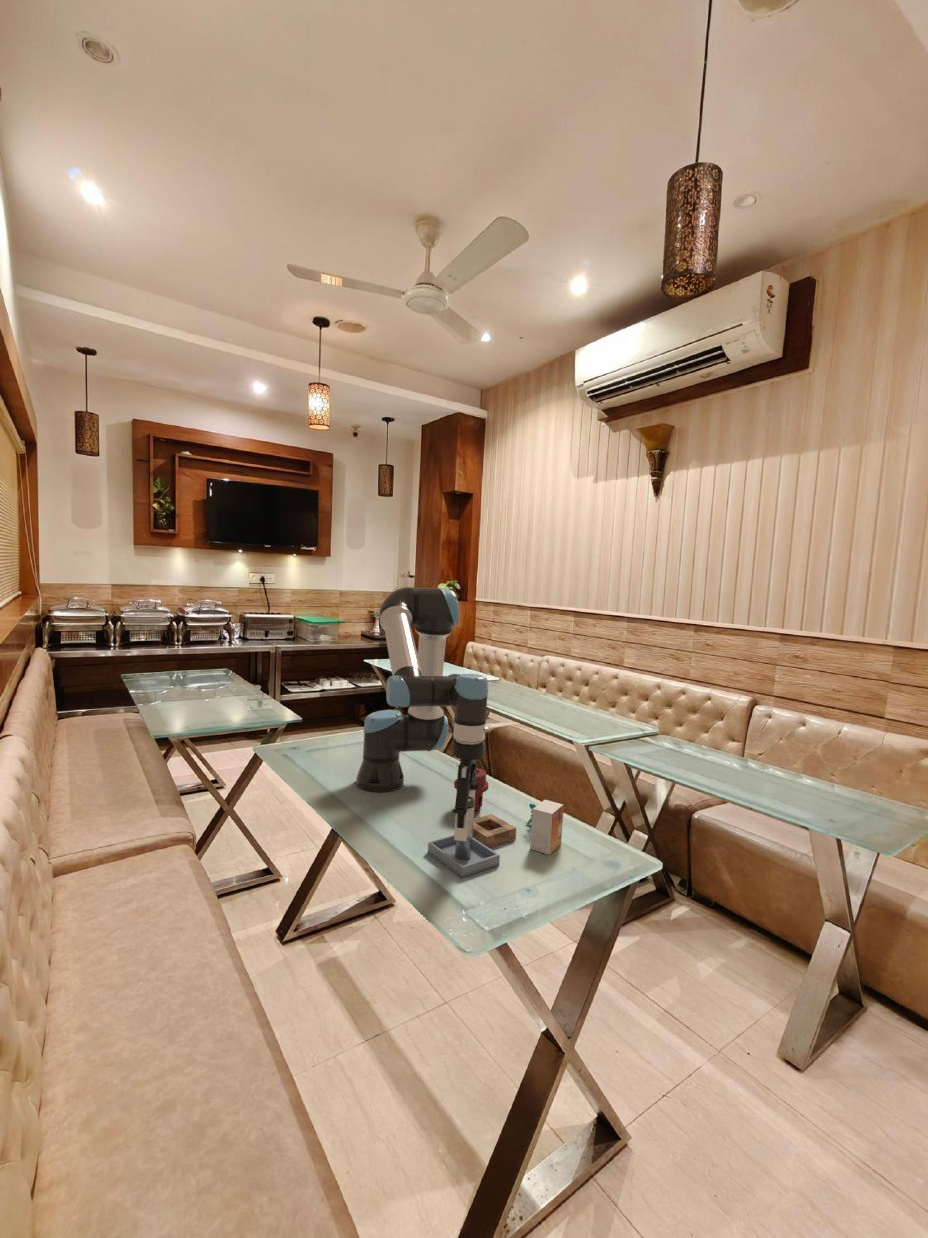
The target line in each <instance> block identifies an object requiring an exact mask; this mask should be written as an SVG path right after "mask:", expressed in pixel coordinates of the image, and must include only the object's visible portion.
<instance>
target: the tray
mask: <svg viewBox="0 0 928 1238" xmlns="http://www.w3.org/2000/svg"><path fill="white" fill-rule="evenodd" d="M455 843H456V840H454V834H452V835H448V836H445V837H441V838H437V839H435V840H432V841H428V843H427V844H428V845H427V853H428V854H430V856H432V857H433V858H435V859H436V860H437V861H438V862H440V863H441V864H443V865H444V866H445V867H447V869H449V870H450V871H452V872H453V873H454V874H456V875H457V876H458V877H459V878H461V879H464V878H467V877H470V876H473V875H475V874H479V873H481V872H484V871H487V870H490V869H493V868H496V867H498V866H500V861H501V860H500V859H501V857H500V854H499V853H498V852H496V851H495V850H493V849H491V847H490V848H488V847H487V846H485V845H484V844H482V843H481V842H479V841H478V840H476V839H474V838H473V837H472V856H471V858H470V859H469V860H459V859H457V858H456V857H455Z"/></svg>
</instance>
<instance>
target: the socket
mask: <svg viewBox="0 0 928 1238" xmlns="http://www.w3.org/2000/svg"><path fill="white" fill-rule="evenodd" d="M473 838H474V839H476V840H478V841H479V842H481V843H482V844H484V845H485V846H487V847H488V848H490V849H491V848H492V847H496V846H499V845H501V844H504V843H508V842H511V841H514V840H516V839H517V827H516V826H514V825H512V824H511V823H509V822H507V821H505V820H504V819H501V818H499V817H498V816H496V815H494V814H492V813H490V814H487V815H483V816H479V817H476V818H473Z"/></svg>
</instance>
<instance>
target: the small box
mask: <svg viewBox="0 0 928 1238" xmlns="http://www.w3.org/2000/svg"><path fill="white" fill-rule="evenodd" d="M535 806H536V807H534V808H533V809H531V810H532V813H531V814H532V820H531V823H530V838H529V849H530V850H533V851H536V852H539V853H542V854H545V855H551V854H552V853H553V852H554V851H555V850H556V849H558V847H559V846H560V845H562V834H563V821H564V820H563V819H564V809H565V808H564V806H565V805H564V804H562V803H559V802H555V801H552V800H548V799H543V800H542V801H541V802H540V803H539V804H537V805H535Z"/></svg>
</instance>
